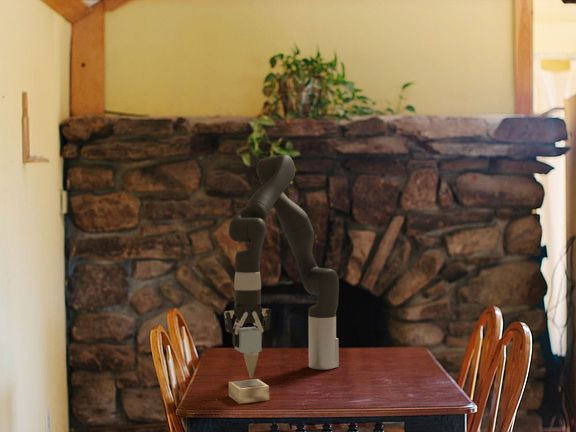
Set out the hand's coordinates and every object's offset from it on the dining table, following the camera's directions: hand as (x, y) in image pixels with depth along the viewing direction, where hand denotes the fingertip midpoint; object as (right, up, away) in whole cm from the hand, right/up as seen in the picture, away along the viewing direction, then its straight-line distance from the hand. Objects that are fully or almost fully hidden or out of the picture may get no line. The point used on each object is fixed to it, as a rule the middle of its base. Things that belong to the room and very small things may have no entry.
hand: (247, 346), depth 220 cm
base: (0, -15, 0) cm, 15 cm away
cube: (0, -1, 0) cm, 1 cm away
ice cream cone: (0, -14, +22) cm, 26 cm away
